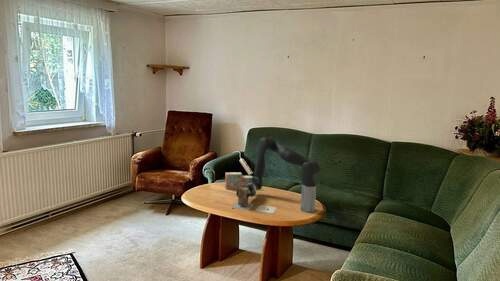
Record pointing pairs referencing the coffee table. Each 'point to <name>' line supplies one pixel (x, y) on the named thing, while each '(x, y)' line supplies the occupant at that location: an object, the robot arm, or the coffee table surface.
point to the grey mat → (243, 206)
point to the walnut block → (243, 196)
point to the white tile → (266, 209)
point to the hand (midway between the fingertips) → (242, 196)
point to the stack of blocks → (236, 180)
